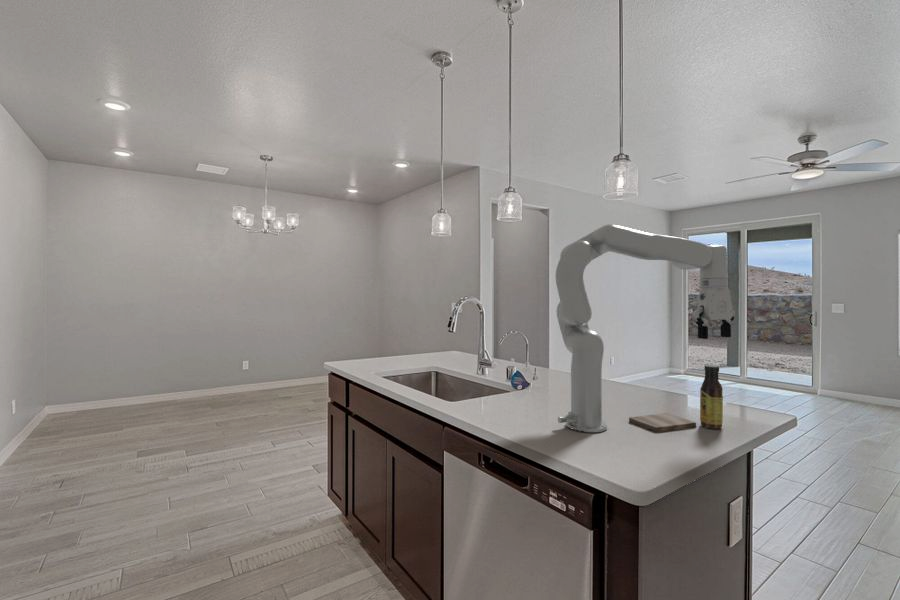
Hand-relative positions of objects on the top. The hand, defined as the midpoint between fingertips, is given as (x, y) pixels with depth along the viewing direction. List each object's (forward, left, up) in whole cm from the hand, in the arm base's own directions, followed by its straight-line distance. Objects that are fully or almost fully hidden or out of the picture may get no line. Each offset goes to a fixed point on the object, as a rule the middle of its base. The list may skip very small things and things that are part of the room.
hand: (714, 337), depth 140 cm
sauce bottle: (-1, +1, -29) cm, 29 cm away
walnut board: (-13, +8, -29) cm, 33 cm away
